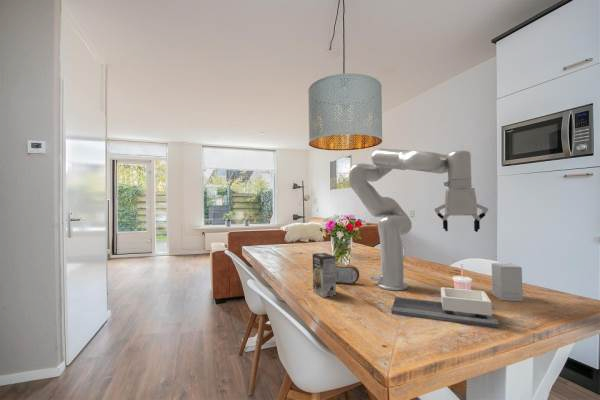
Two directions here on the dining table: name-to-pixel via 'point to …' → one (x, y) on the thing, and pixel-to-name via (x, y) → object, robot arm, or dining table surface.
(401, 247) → the robot arm
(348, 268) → the tin
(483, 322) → the track
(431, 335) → the dining table surface
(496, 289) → the supplement box
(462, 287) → the beverage cup
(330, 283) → the coffee box
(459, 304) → the cart
